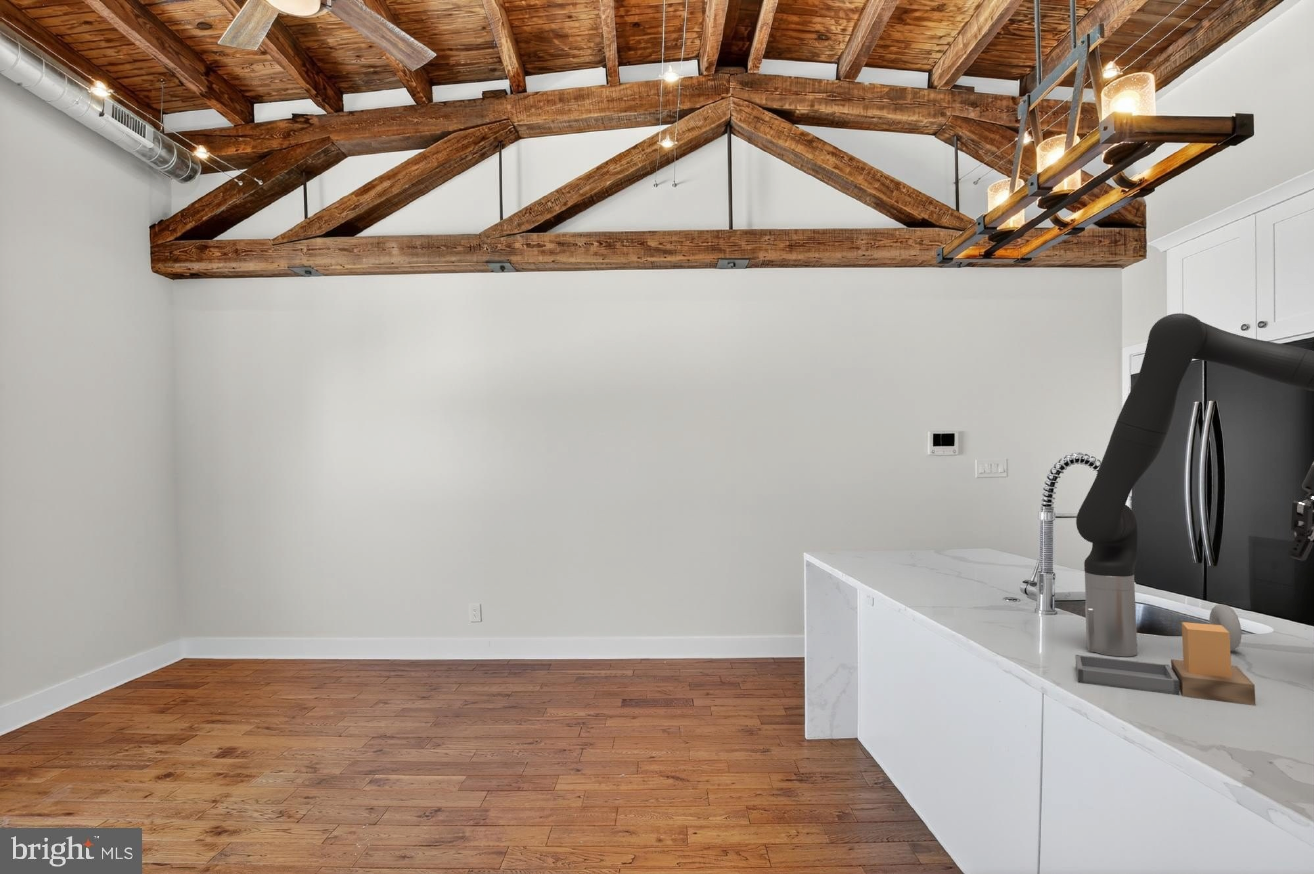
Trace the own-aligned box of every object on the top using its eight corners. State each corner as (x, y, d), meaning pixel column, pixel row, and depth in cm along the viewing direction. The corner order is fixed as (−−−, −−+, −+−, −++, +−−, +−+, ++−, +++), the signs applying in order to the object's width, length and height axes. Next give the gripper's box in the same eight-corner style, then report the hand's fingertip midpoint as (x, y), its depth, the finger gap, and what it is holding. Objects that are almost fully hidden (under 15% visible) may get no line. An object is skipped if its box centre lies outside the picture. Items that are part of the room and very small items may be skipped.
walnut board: (1183, 696, 122) (1182, 676, 122) (1171, 677, 132) (1171, 659, 132) (1255, 705, 117) (1254, 684, 117) (1237, 684, 127) (1237, 665, 127)
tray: (1078, 682, 130) (1078, 669, 130) (1075, 666, 140) (1075, 654, 140) (1179, 694, 122) (1179, 680, 122) (1169, 677, 132) (1169, 664, 132)
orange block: (1189, 672, 124) (1187, 628, 124) (1183, 664, 129) (1181, 621, 129) (1231, 677, 121) (1229, 632, 121) (1223, 668, 126) (1221, 625, 126)
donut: (1207, 643, 155) (1205, 599, 156) (1226, 644, 154) (1224, 600, 154) (1225, 655, 146) (1223, 608, 146) (1245, 656, 145) (1243, 609, 145)
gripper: (1348, 465, 117) (1302, 556, 118) (1382, 489, 122) (1338, 575, 123) (1296, 455, 124) (1253, 541, 125) (1330, 478, 129) (1289, 560, 130)
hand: (1295, 558), depth 124 cm, fingers closed
